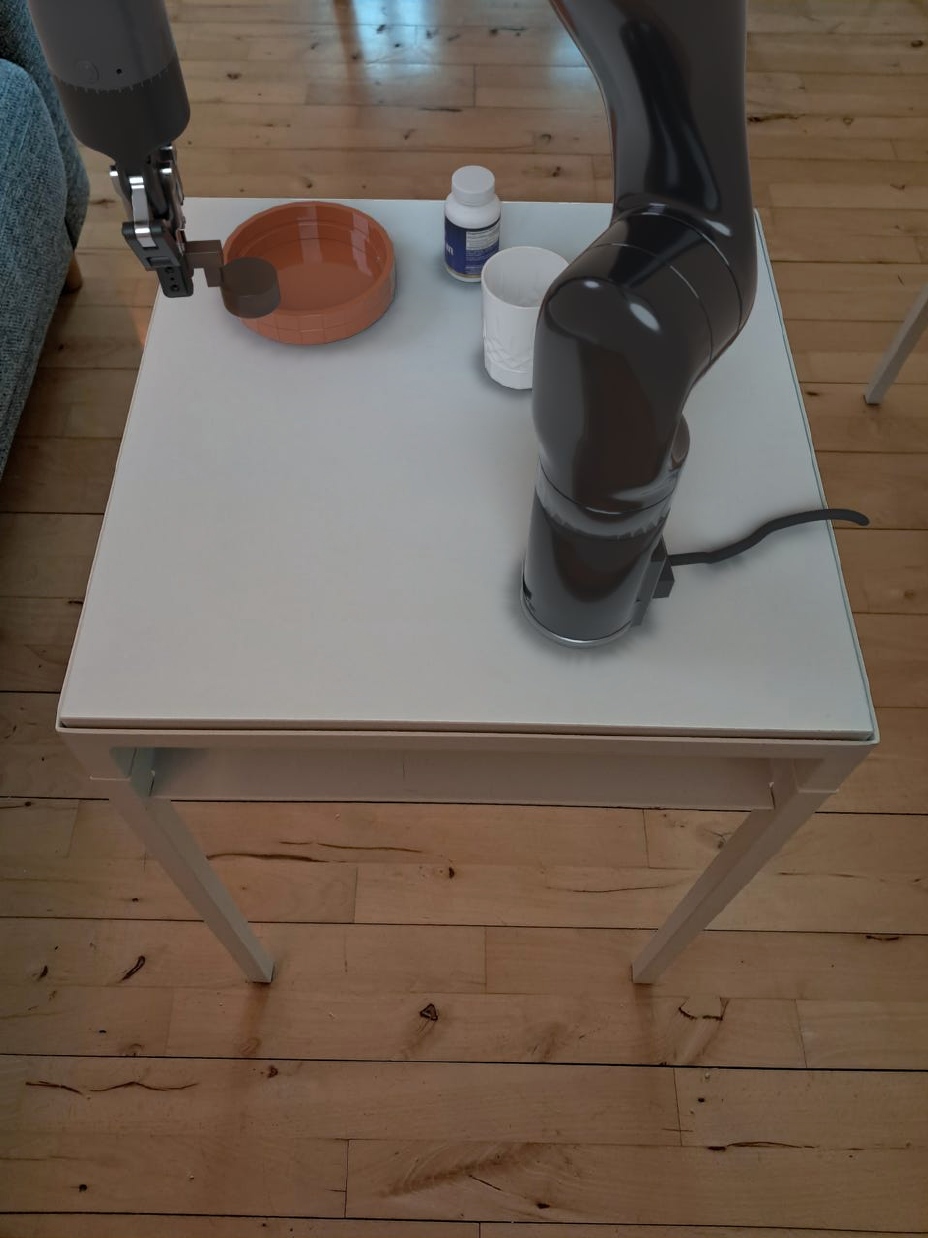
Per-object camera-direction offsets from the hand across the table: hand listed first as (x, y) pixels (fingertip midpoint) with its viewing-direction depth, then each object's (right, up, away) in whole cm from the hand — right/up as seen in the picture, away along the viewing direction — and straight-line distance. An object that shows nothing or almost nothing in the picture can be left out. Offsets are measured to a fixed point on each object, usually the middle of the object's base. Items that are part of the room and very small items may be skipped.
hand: (180, 283), depth 70 cm
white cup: (+27, -1, +18) cm, 32 cm away
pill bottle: (+22, +10, +24) cm, 34 cm away
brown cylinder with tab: (+3, -1, +2) cm, 3 cm away
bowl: (+6, +7, +22) cm, 24 cm away
